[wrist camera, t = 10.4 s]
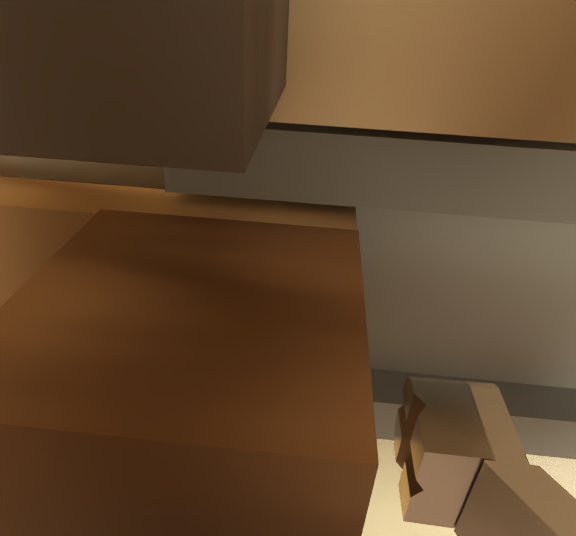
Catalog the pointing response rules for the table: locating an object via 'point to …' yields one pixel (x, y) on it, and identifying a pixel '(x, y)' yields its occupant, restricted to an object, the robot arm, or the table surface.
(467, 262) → the lane tray
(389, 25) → the maple strip
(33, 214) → the oak strip
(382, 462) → the table surface
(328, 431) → the walnut cube
